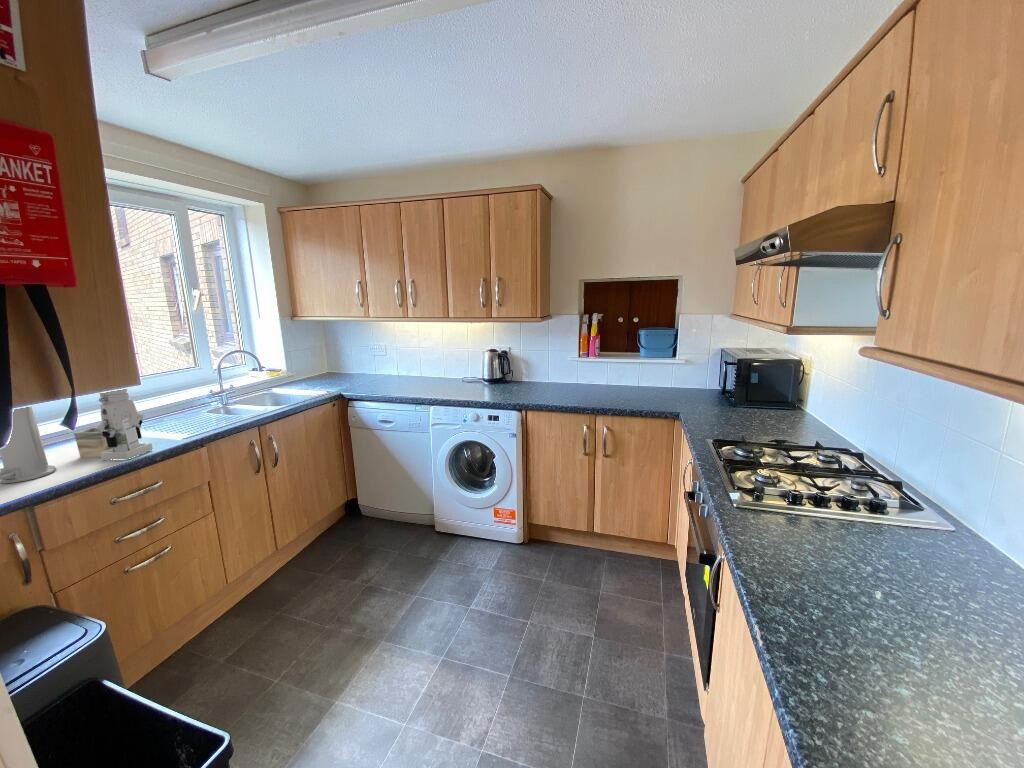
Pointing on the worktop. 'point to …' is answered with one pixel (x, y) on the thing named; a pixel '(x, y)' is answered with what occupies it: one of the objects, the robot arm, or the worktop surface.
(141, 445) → the grey collar
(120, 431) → the syrup box
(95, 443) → the raised stand
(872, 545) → the worktop surface
